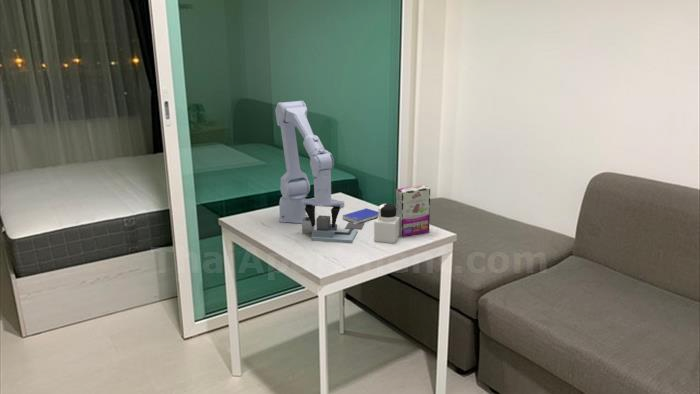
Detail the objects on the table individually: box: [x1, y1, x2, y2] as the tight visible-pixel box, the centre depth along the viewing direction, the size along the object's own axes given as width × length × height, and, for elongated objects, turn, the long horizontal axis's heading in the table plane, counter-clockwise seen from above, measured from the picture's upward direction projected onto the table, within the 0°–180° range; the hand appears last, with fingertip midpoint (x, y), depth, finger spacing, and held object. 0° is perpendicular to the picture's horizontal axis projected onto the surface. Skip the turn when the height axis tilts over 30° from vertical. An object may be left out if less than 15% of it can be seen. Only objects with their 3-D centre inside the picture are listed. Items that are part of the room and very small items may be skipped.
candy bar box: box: [395, 184, 431, 238], centre depth 183 cm, size 11×5×16 cm, turn 114°
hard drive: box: [342, 208, 378, 223], centre depth 201 cm, size 2×8×12 cm
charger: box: [315, 215, 332, 231], centre depth 183 cm, size 4×4×6 cm
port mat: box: [344, 221, 365, 231], centre depth 193 cm, size 6×6×1 cm
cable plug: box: [301, 217, 316, 236], centre depth 186 cm, size 4×4×6 cm
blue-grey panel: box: [310, 223, 358, 244], centre depth 184 cm, size 14×12×3 cm
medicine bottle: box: [373, 203, 400, 244], centre depth 179 cm, size 7×7×12 cm
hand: (323, 226), depth 183 cm, fingers open, 7 cm apart
